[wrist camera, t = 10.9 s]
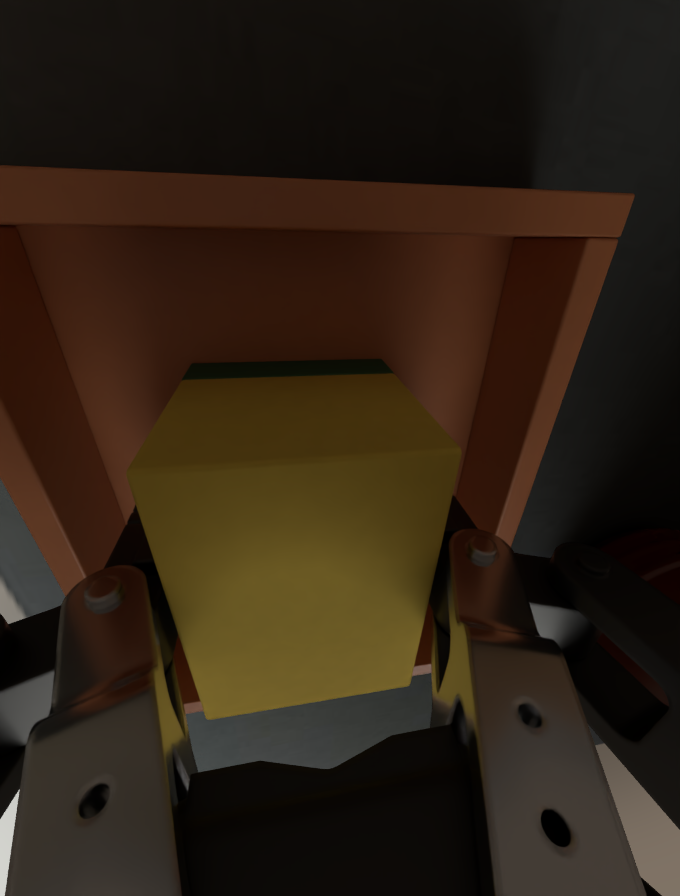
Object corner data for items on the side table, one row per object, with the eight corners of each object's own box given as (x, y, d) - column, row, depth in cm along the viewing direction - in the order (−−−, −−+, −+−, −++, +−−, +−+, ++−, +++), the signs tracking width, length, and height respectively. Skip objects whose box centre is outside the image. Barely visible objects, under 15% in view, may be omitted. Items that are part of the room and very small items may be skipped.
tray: (-19, 184, 7) (-181, 156, 5) (532, 205, 9) (636, 193, 7) (158, 638, 15) (134, 723, 12) (438, 599, 17) (469, 667, 14)
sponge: (191, 362, 9) (122, 472, 5) (381, 357, 10) (465, 449, 6) (227, 559, 13) (205, 722, 8) (366, 544, 13) (410, 687, 9)
